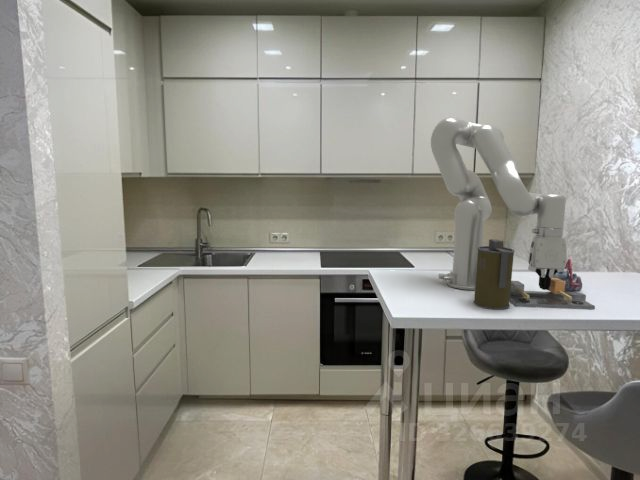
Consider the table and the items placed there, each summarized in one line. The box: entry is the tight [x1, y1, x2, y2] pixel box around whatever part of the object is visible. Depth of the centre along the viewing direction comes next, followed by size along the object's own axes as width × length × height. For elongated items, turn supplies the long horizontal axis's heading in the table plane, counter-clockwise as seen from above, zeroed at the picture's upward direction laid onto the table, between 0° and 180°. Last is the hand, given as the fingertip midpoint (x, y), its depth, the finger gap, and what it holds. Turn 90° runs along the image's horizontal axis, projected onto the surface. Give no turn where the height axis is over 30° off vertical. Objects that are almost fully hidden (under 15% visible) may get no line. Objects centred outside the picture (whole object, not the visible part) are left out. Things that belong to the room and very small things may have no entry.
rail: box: [510, 290, 587, 301], centre depth 138 cm, size 24×2×2 cm, turn 86°
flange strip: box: [509, 298, 596, 310], centre depth 132 cm, size 23×6×1 cm, turn 86°
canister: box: [473, 238, 515, 311], centre depth 129 cm, size 11×10×20 cm
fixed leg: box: [510, 280, 530, 300], centre depth 135 cm, size 3×12×4 cm, turn 176°
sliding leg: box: [547, 278, 572, 301], centre depth 134 cm, size 3×12×5 cm, turn 176°
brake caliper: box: [552, 257, 583, 293], centre depth 151 cm, size 11×11×12 cm
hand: (544, 288), depth 138 cm, fingers closed
